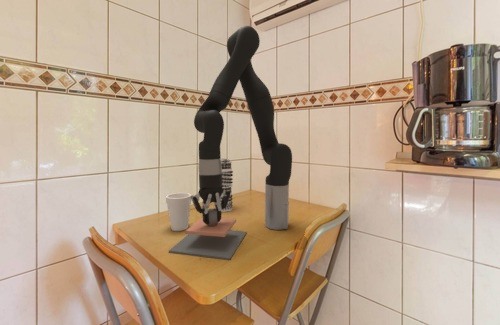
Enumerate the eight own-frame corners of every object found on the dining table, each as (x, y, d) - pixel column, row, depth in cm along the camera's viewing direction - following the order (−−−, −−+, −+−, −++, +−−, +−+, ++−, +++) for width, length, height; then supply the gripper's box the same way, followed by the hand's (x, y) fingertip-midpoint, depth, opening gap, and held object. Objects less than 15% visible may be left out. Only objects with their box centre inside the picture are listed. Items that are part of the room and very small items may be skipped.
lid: (236, 221, 86) (235, 205, 85) (224, 236, 73) (223, 218, 73) (202, 219, 89) (201, 203, 88) (185, 233, 76) (184, 215, 75)
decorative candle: (225, 213, 112) (225, 160, 109) (210, 210, 117) (209, 159, 114) (236, 208, 120) (236, 158, 117) (222, 205, 125) (221, 157, 122)
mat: (246, 233, 89) (246, 231, 89) (230, 260, 70) (230, 258, 70) (197, 228, 94) (197, 226, 93) (168, 252, 74) (168, 250, 74)
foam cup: (196, 224, 97) (195, 193, 96) (184, 233, 88) (183, 199, 87) (175, 222, 100) (174, 192, 98) (162, 230, 91) (160, 197, 90)
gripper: (224, 169, 86) (225, 215, 88) (185, 173, 78) (188, 223, 80) (234, 171, 79) (235, 221, 81) (193, 176, 72) (195, 230, 74)
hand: (212, 222), depth 81 cm, fingers closed on lid, 3 cm apart
